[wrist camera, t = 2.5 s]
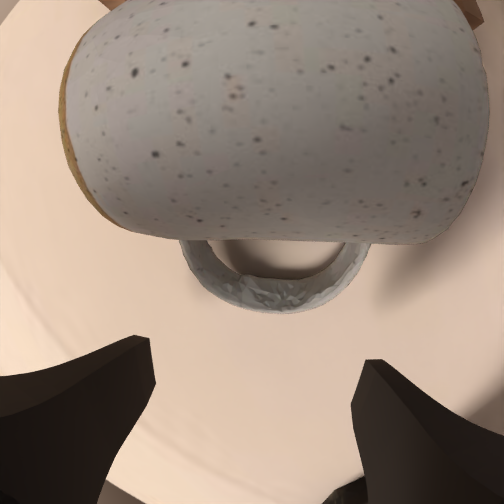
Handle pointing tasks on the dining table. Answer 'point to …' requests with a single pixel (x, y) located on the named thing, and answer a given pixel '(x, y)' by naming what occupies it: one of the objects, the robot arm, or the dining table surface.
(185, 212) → the ceramic mug
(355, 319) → the dining table surface
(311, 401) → the dining table surface
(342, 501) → the beer stein
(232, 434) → the dining table surface
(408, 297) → the dining table surface
